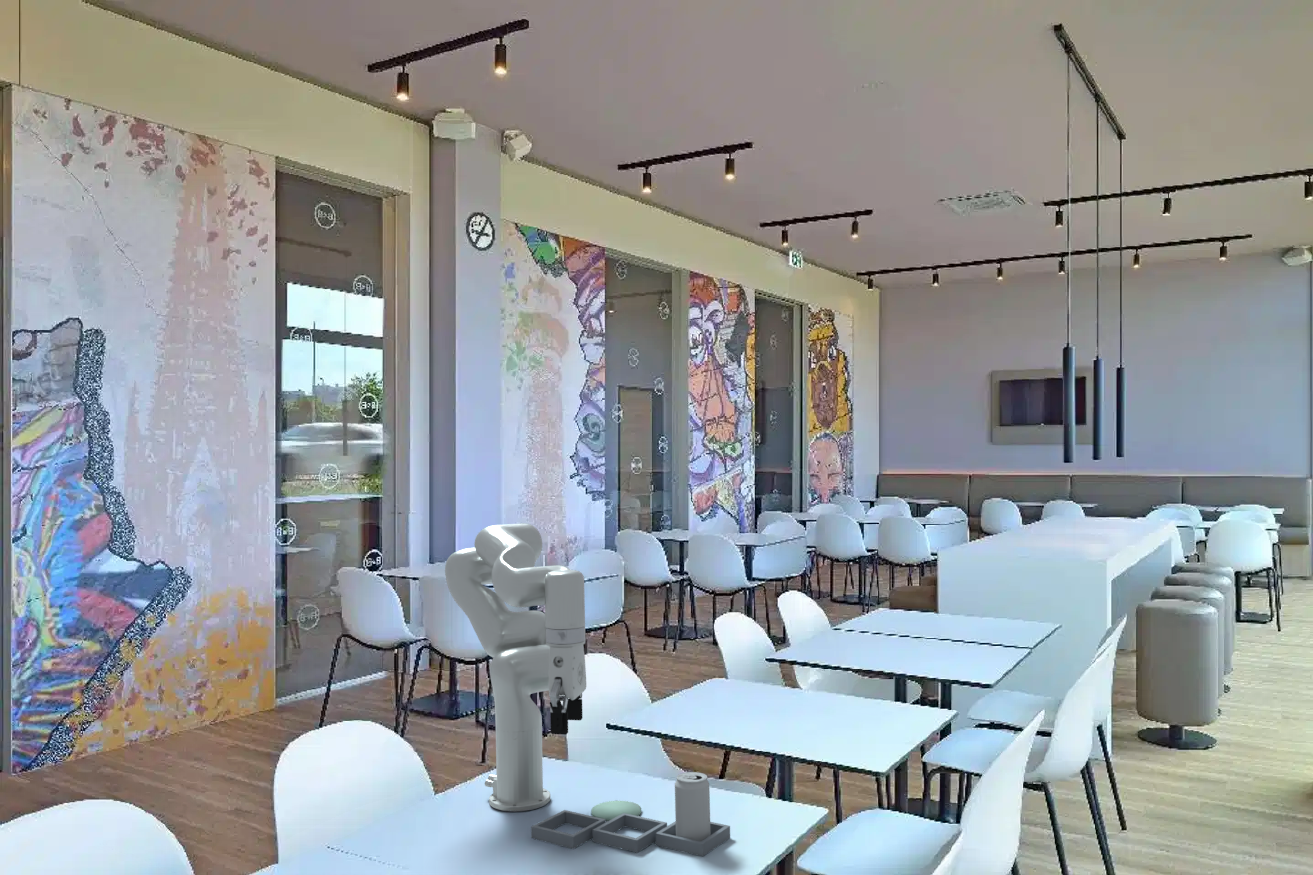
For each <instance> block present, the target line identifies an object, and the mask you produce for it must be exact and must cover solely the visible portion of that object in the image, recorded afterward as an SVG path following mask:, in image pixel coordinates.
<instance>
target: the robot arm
mask: <svg viewBox="0 0 1313 875" xmlns="http://www.w3.org/2000/svg"><path fill="white" fill-rule="evenodd" d="M473 544H474V547H467V548H463V549H459V550H457V551H455V552H453V553H451V555H449V556H448V558H447V559H446V562H445V565H444V566H445V567H444V573H445V580H446V586H447V588H448V591H449V593H450V594H451V597H452V598H453V600H454V601H455V603H456V604H457V606H458V607H459V608H460V610H461V611H463V613H464V614H465V615H466V617H467V618H468V620H469V623H470V624H471V626H472V628H473V630H474V632H475V634H476V637H477V638H478V640H479V642H480V645H481V646H482V649H483V650H484V652H485V653H486V654H487V655H488V656H490V657H491V658H492V659H491V661H490V665H489V675H490V676H489V678H490V682H491V686H492V692H493V693H492V694H493V699H494V700H493V701H494V716H495V717H494V718H495V720H494V721H495V723H494V724H495V757H496V758H495V761H496V762H495V764H496V767H495V768H496V770H495V771H496V774H493V773H490V774H489V775H488V777H487V779H486V780H485V781H484V786H485V787H488V788H492V792H493V793H492V794H491V795H490V796H489V798H488V799H489V800H488V801H489V806H490V807H492V808H494V809H495V810H499V811H504V812H525V811H531V810H532V811H533V810H536V809H539V808H541V807H544V806H546V805H547V804H548V803H550V802H551V792H550V791H549V790H548V789H546V788H544V785H543V784H544V780H543V779H544V778H543V777H544V776H543V773H544V772H543V770H544V769H543V765H544V764H543V728H542V727H543V726H542V725H543V722H542V721H543V720H542V713H541V711H540V708H539V707H538V705H537V704H536V703H535V702H534V701H533V699H532V698H531V694H536V693H541V692H546V691H547V692H548V697H549V699H550V702H549V706H550V707H549V712H550V715H549V716H550V734H551V735H562V736H563V735H564V736H565V735H567V734H568V733H569V721H582V720H583V699H582V698H583V693H584V692H585V691H586V689H587V670H586V669H587V668H586V657H585V656H586V655H585V648H584V645H585V644H586V608H585V607H586V603H585V602H586V600H585V597H586V596H585V595H586V594H585V577H584V574H583V573H582V572H581V571H579V570H576V569H575V570H574V569H570V568H569V567H568V566H566V565H559V564H557V565H546V566H545V565H544V566H543V565H542V566H535V564H536V562H537V561H538V559H539V558H540V555H541V554H542V550H543V538H542V536H541V533H540V531H539V530H538V528H536V527H535V526H534V525H533V524H530V523H509V524H494V525H489V526H486V527H484V528H483V529H481V530H480V531H479V532H477V534H476V536H475V539H474V543H473ZM491 584H492V586H493V589H494V590H492V589H490V588H488V587H487V586H485V585H491ZM506 604H507V605H508V606H511V607H514V608H528V607H535V606H536V607H537V606H544V612H543V611H540V610H534V609H533V610H524V611H511V610H510V609H509V608H508V606H507V605H506Z"/></svg>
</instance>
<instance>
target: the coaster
mask: <svg viewBox="0 0 1313 875" xmlns="http://www.w3.org/2000/svg"><path fill="white" fill-rule="evenodd" d="M623 813H626V814H631V815H635V816H640V815H641V813H642V807H641V805H639V804H638V803H635V802H633V801H629V800H627V801H626V800H611V801H610V800H609V801H605V802H604V801H603V802H601V803H597V804H596V805H593V806H592V808H591V812H590V814H591V816H593V817H598V818H602V819H606V822H608V821H610V820H612V819H613V818H615V817H617V816H619V815H621V814H623Z"/></svg>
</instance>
